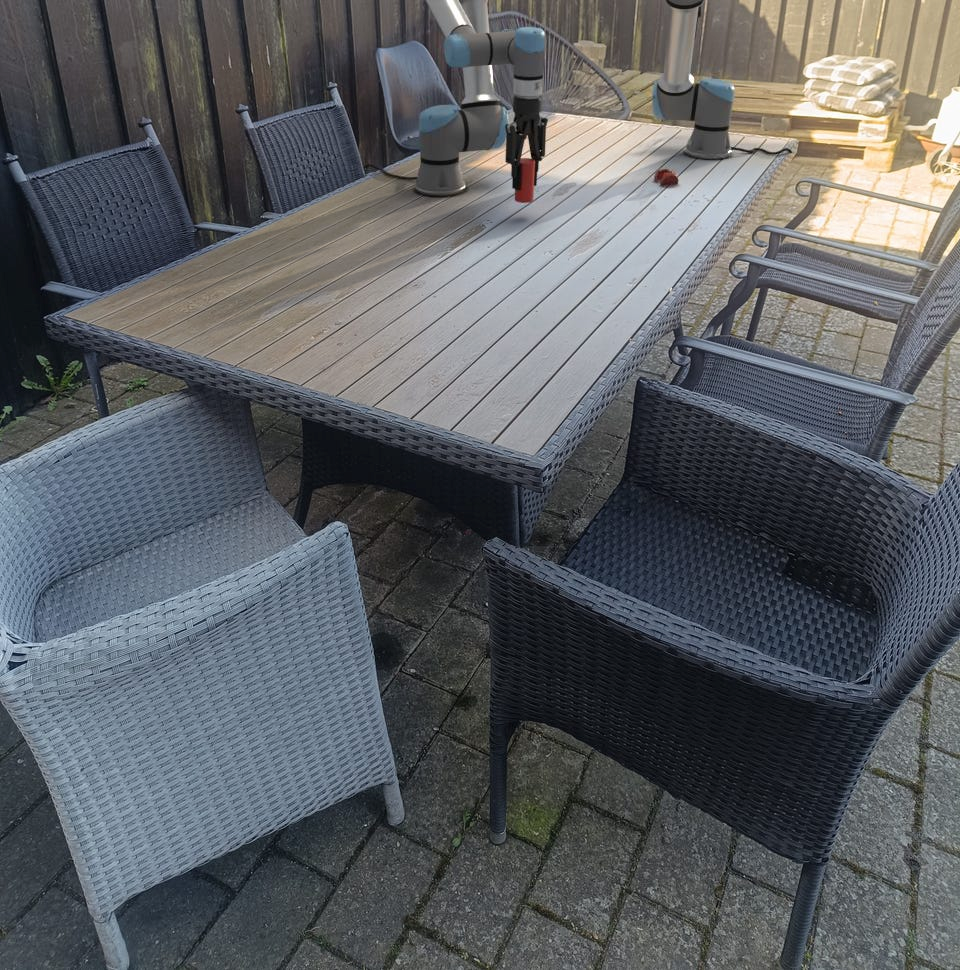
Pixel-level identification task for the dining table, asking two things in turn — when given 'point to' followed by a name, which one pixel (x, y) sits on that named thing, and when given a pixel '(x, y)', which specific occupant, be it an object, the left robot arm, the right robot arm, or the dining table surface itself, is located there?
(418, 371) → the dining table surface
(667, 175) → the red lumpy piece
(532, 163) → the canister
